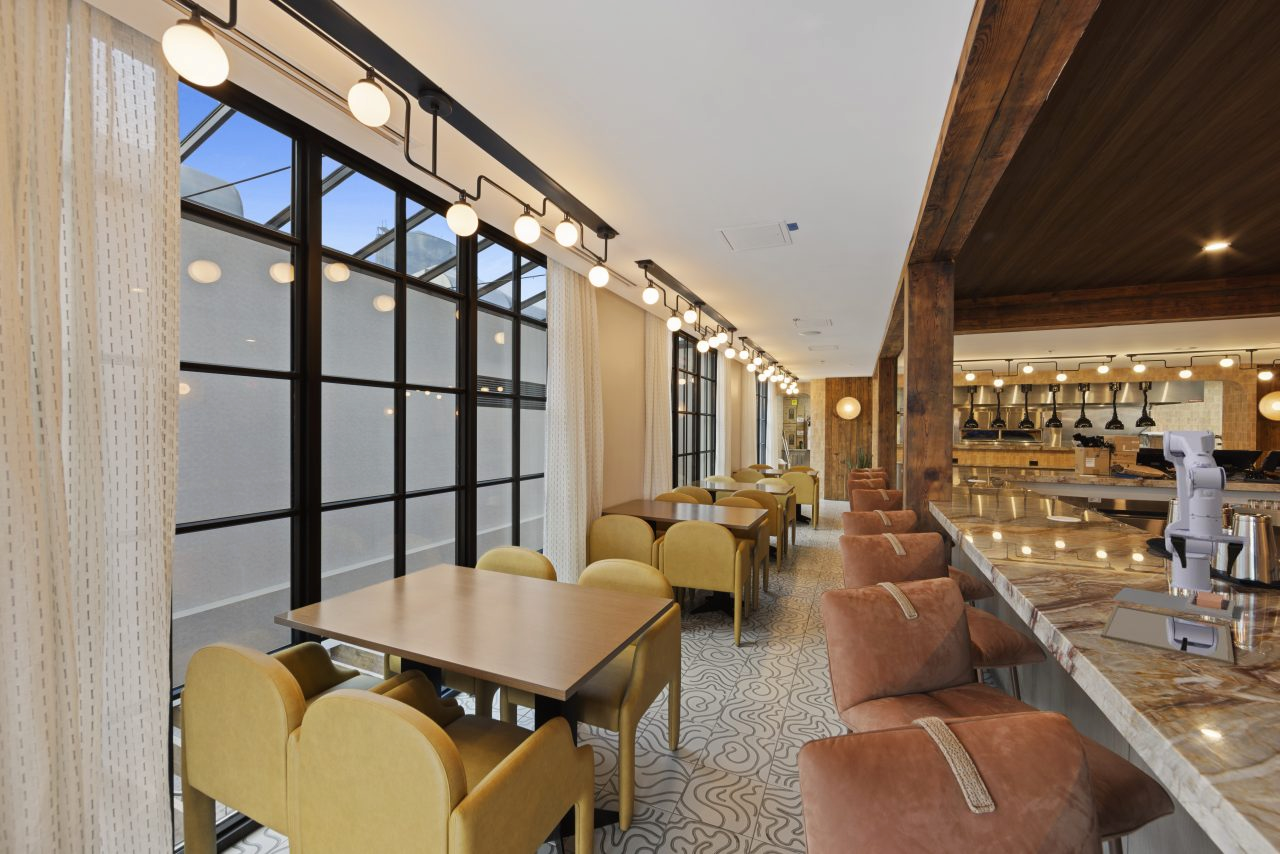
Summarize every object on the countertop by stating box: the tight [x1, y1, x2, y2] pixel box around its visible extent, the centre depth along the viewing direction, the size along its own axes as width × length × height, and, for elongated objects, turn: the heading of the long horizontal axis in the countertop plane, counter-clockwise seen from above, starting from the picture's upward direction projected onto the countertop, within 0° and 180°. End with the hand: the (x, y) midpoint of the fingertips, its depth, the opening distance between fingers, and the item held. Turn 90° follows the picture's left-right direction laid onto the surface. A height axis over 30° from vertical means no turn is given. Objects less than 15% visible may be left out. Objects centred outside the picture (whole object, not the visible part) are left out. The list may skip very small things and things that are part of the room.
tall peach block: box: [1197, 591, 1225, 610], centre depth 132 cm, size 4×9×3 cm, turn 130°
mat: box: [1112, 586, 1244, 623], centre depth 136 cm, size 16×22×1 cm
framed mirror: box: [1100, 604, 1235, 666], centre depth 118 cm, size 19×1×28 cm
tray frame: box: [1186, 593, 1236, 618], centre depth 132 cm, size 13×8×2 cm, turn 130°
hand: (1206, 570), depth 133 cm, fingers open, 7 cm apart
